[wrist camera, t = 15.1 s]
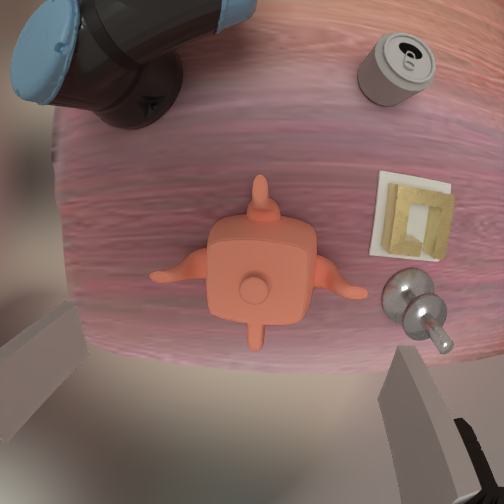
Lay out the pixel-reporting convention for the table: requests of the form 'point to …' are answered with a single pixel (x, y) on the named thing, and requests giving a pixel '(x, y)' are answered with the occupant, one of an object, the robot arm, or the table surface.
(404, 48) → the can
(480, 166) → the table surface
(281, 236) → the pot
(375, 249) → the mat
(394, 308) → the stand
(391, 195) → the link
